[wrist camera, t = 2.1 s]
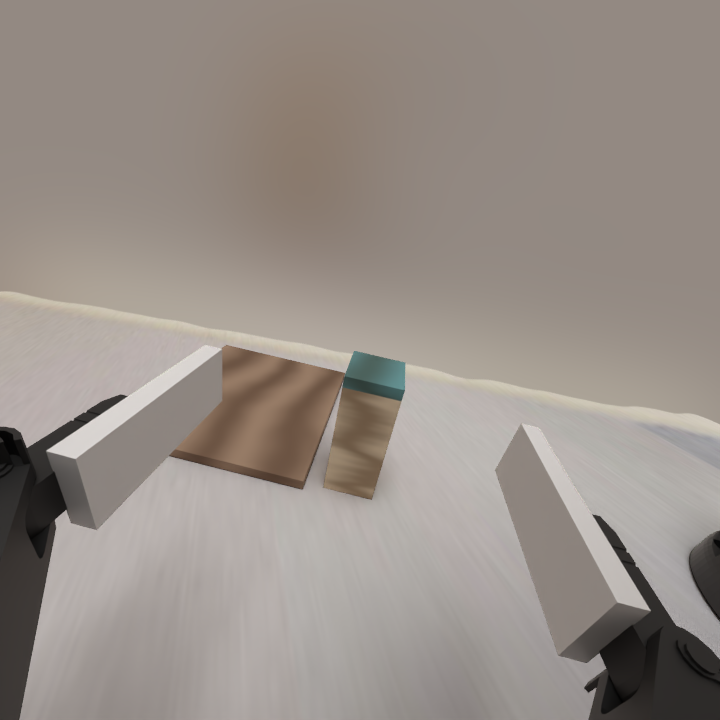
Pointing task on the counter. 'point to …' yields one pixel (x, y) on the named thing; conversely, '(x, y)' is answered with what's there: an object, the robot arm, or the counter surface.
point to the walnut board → (265, 418)
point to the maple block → (364, 423)
